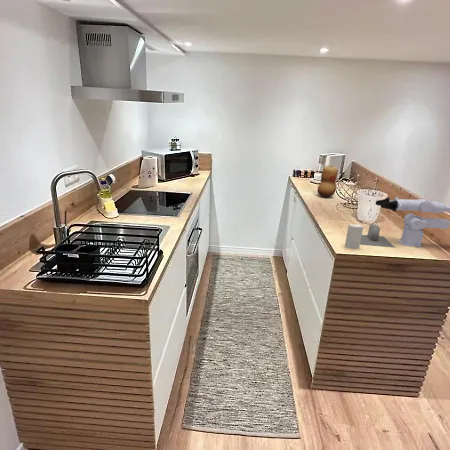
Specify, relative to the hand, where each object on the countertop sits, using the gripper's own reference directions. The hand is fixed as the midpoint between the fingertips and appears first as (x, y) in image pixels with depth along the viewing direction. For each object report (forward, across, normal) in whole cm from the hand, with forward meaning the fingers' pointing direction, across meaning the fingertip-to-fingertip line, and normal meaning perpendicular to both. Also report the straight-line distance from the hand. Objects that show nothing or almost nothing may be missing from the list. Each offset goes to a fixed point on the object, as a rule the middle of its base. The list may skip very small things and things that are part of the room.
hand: (378, 204), depth 183 cm
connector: (0, -4, +20) cm, 20 cm away
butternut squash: (+8, -94, +12) cm, 95 cm away
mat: (0, -1, +21) cm, 21 cm away
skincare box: (+15, +12, +21) cm, 28 cm away
